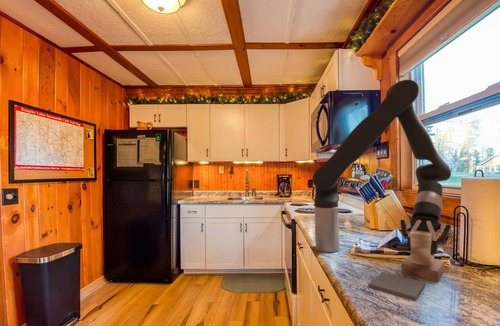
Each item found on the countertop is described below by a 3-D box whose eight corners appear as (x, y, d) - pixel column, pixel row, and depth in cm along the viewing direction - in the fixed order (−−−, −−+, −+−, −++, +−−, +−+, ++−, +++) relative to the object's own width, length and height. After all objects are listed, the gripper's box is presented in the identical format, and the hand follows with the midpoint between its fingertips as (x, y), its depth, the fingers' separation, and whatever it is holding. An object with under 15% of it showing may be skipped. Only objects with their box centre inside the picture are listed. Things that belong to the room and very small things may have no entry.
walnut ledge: (401, 273, 77) (401, 263, 77) (410, 263, 85) (410, 254, 85) (438, 282, 71) (437, 271, 71) (444, 270, 78) (444, 261, 78)
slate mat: (368, 286, 69) (368, 283, 69) (382, 274, 77) (382, 271, 77) (415, 300, 61) (415, 297, 61) (425, 285, 69) (425, 282, 69)
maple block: (411, 262, 78) (410, 232, 78) (415, 258, 81) (414, 230, 82) (431, 266, 74) (429, 235, 75) (434, 261, 78) (432, 232, 78)
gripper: (400, 199, 89) (391, 240, 80) (452, 202, 79) (449, 250, 70) (405, 212, 92) (397, 253, 83) (456, 216, 82) (452, 264, 73)
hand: (421, 251), depth 77 cm, fingers closed on maple block, 5 cm apart
